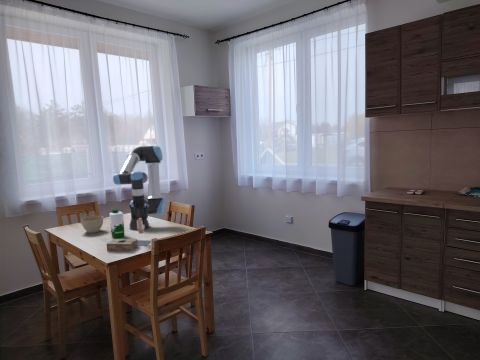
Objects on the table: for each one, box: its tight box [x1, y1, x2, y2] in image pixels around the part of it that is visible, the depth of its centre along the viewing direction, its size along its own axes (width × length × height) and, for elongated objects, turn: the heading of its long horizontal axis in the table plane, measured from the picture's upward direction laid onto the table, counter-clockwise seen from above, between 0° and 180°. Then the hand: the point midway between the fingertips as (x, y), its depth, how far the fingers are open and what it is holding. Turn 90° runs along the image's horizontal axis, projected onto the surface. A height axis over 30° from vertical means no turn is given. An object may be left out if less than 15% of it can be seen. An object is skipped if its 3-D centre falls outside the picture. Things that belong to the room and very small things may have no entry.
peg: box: [138, 218, 145, 235], centre depth 225 cm, size 3×3×10 cm
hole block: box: [106, 238, 139, 252], centre depth 216 cm, size 10×16×5 cm, turn 81°
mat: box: [137, 239, 152, 247], centre depth 226 cm, size 12×12×1 cm
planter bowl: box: [80, 215, 104, 234], centre depth 260 cm, size 16×16×11 cm
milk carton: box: [109, 208, 125, 240], centre depth 242 cm, size 9×9×20 cm
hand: (141, 229), depth 225 cm, fingers closed on peg, 2 cm apart
